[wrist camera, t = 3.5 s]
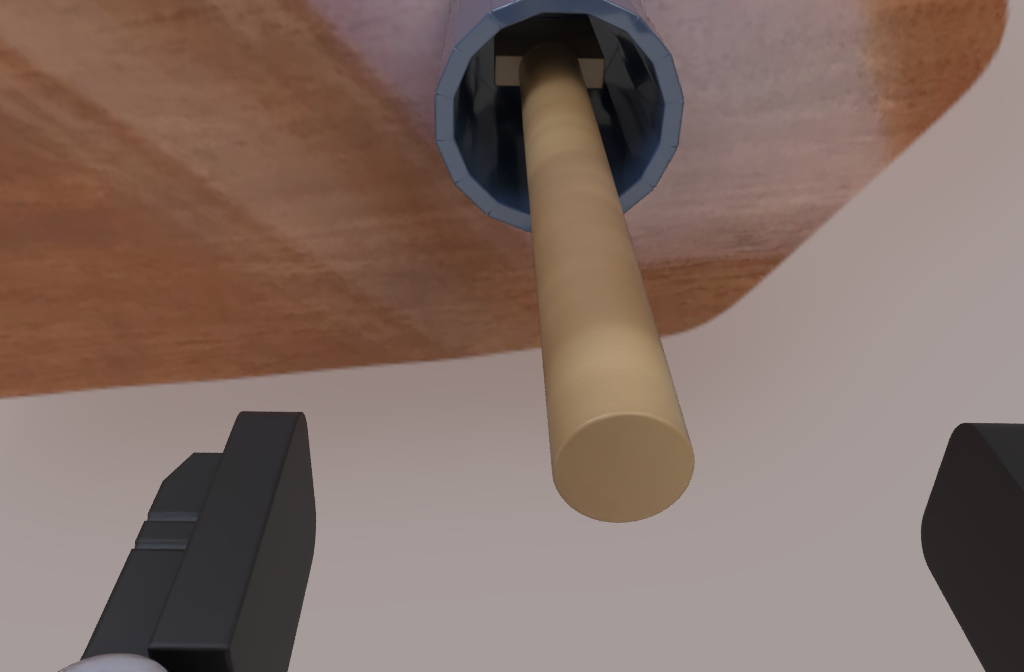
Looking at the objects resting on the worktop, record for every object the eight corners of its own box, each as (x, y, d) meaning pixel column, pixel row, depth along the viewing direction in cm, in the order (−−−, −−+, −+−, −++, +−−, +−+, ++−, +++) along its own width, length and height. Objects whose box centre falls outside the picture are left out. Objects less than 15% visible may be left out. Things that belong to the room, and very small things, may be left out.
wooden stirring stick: (591, 4, 31) (762, 415, 11) (587, 59, 32) (738, 526, 12) (494, 1, 31) (498, 410, 11) (493, 56, 32) (495, 523, 12)
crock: (640, -69, 30) (698, -5, 22) (622, 117, 34) (666, 236, 25) (449, -75, 30) (432, -12, 22) (450, 113, 33) (435, 231, 25)
